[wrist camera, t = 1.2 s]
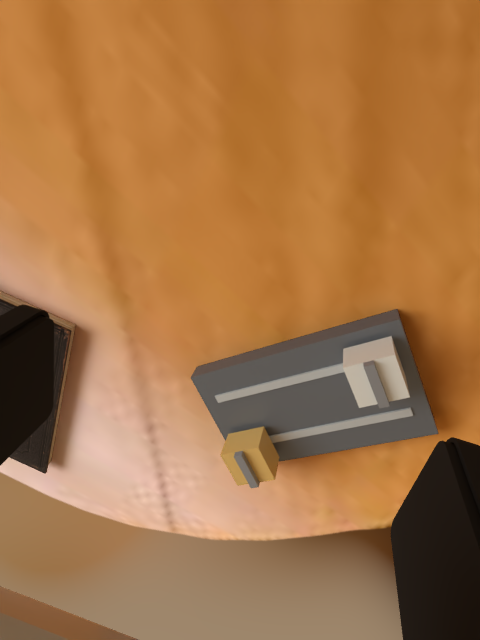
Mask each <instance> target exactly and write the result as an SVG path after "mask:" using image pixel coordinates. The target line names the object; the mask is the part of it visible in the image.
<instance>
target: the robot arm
mask: <svg viewBox="0 0 480 640" xmlns="http://www.w3.org/2000/svg"><path fill="white" fill-rule="evenodd" d="M53 404H54V322H53V320H52V319H50V318H49V314H48V313H47V312H46V311H44V310H41V309H38V308H35V307H31V306H28V305H23V304H22V305H19V306H17V307H15V308H14V309H12V310H10V311H8V312H6V313H5V314H3V315H1V316H0V465H1V464H2V463H3V462H4V461H5V460H6V459H7V458H8V457H9V456H10V455H11V454H12V453H13V452H14V451H15V450H16V449H17V448H18V447H19V446H20V445H21V444H22V443H23V442H25V441H26V440H27V439H28V438H29V437H30V436H31V435H32V434H33V433H34V432H35V431H36V430H37V429H38V428H39V427H40V426H41V425H42V424H43V423H44V422H45V421H46V420H47V418H48V417H49V416H50V414H51V412H52V409H53ZM391 542H392V550H393V558H394V566H395V575H396V584H397V592H398V599H399V609H400V617H401V626H402V634H403V640H480V446H479V445H476V444H473V443H470V442H466V441H463V440H460V439H457V438H450V439H448V440H447V441H446V442H444V441H440V442H438V444H437V445H436V447H435V448H434V450H433V452H432V454H431V455H430V457H429V459H428V461H427V462H426V464H425V466H424V467H423V469H422V471H421V473H420V474H419V476H418V478H417V480H416V481H415V483H414V485H413V487H412V488H411V490H410V492H409V493H408V495H407V497H406V499H405V500H404V502H403V504H402V506H401V507H400V509H399V511H398V513H397V514H396V516H395V518H394V520H393V523H392V527H391ZM0 640H138V639H135V638H133V637H130V636H127V635H125V634H122V633H119V632H117V631H115V630H112V629H109V628H107V627H104V626H102V625H99V624H97V623H94V622H91V621H89V620H86V619H84V618H81V617H79V616H76V615H73V614H71V613H68V612H66V611H63V610H61V609H58V608H55V607H53V606H50V605H48V604H45V603H43V602H40V601H37V600H35V599H32V598H30V597H27V596H24V595H22V594H19V593H17V592H14V591H11V590H9V589H6V588H3V587H1V586H0Z"/></svg>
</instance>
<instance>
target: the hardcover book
mask: <svg viewBox="0 0 480 640" xmlns="http://www.w3.org/2000/svg"><path fill="white" fill-rule="evenodd" d="M22 304H23V305H28V306H31V307H35V306H32V305H30V304H28V303H26V302H23V301H21V300H19V299H17V298H15V297H12V296H10V295H8V294H6V293H3V292H1V291H0V316H1V315H3V314H5V313H6V312H8V311H10V310H12V309H14V308H15V307H17V306H19V305H22ZM35 308H37V307H35ZM38 309H39V308H38ZM47 313H48V312H47ZM48 314H49V318H50V319H52V320H53V322H54V404H53V409H52V412H51V414H50V416H49V417H48V418H47V420H46V421H45V422H44V423H43V424H42V425H41V426H40V427H39V428H38V429H37V430H36V431H35V432H34V433H33V434H32V435H31V436H30V437H29V438H28V439H27V440H26V441H25V442H23V443H22V444H21V445H20V446H19V447H18V448H17V449H16V450H15V451H14V452H13V453H12V454H11V455H10V456H9V457H10V458H12V459H14V460H17V461H19V462H21V463H23V464H25V465H27V466H30V467H32V468H34V469H36V470H38V471H40V472H43V473H45V474H46V472H47V468H48V465H49V463H50V462H51V458H52V453H53V447H54V442H55V436H56V431H57V425H58V420H59V414H60V409H61V403H62V398H63V392H64V387H65V381H66V376H67V370H68V365H69V359H70V354H71V348H72V343H73V337H74V332H75V326H76V325H75V324H73V323H70V322H68V321H66V320H64V319H61V318H59V317H57V316H55V315H53V314H50V313H48Z"/></svg>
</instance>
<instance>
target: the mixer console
mask: <svg viewBox="0 0 480 640" xmlns="http://www.w3.org/2000/svg"><path fill="white" fill-rule="evenodd" d="M389 336H392V339H393V342H394V345H395V348H396V350H397V353H398V356H399V359H400V362H401V365H402V368H403V371H404V373H405V376H406V381H407V385H408V390H409V395H410V397H409V398H405V399H400V400H395V401H390V402H389V404H390V406H389V407H384V408H379V406H378V404H376V405H371V406H366V407H362V408H359V406H358V404H357V401H356V399H355V396H354V394H353V392H352V389H351V387H350V384H349V382H348V379H347V377H346V374H345V372H344V369H343V349H344V348H348V347H352V346H356V345H359V344H363V343H367V342H371V341H374V340H378V339H382V338H386V337H389ZM191 379H192V381H193V383H194V385H195V386H196V388H197V390H198V392H199V394H200V395H201V397H202V399H203V401H204V403H205V404H206V406H207V408H208V410H209V412H210V413H211V415H212V417H213V419H214V421H215V423H216V424H217V426H218V428H219V430H220V432H221V433H222V435H223V437H224V439H225V441H226V439H227V436H228V434H230V433H235V432H239V431H244V430H249V429H254V428H258V427H263V426H264V428H265V429H266V431H267V433H268V435H269V437H270V439H271V441H272V443H273V445H274V447H275V449H276V451H277V453H278V455H279V461H285V460H290V459H296V458H302V457H308V456H313V455H319V454H325V453H331V452H336V451H342V450H348V449H353V448H359V447H365V446H371V445H376V444H382V443H388V442H394V441H399V440H405V439H411V438H416V437H422V436H428V435H434V434H438V431H437V427H436V424H435V420H434V417H433V414H432V411H431V408H430V405H429V402H428V399H427V396H426V393H425V390H424V387H423V384H422V381H421V378H420V375H419V372H418V369H417V366H416V363H415V360H414V357H413V354H412V351H411V348H410V345H409V342H408V339H407V336H406V333H405V330H404V327H403V324H402V322H401V319H400V316H399V313H398V310H397V309H395V310H392V311H388V312H385V313H381V314H378V315H375V316H371V317H368V318H364V319H361V320H357V321H354V322H350V323H347V324H343V325H340V326H336V327H333V328H330V329H326V330H323V331H319V332H316V333H312V334H309V335H305V336H302V337H298V338H295V339H291V340H288V341H285V342H281V343H278V344H274V345H271V346H267V347H264V348H260V349H257V350H253V351H250V352H246V353H243V354H239V355H236V356H233V357H229V358H226V359H222V360H219V361H215V362H212V363H208V364H205V365H201V366H198V367H197V368H196V369H195V371H194V373H193V374H192V376H191Z"/></svg>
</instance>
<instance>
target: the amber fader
mask: <svg viewBox="0 0 480 640" xmlns="http://www.w3.org/2000/svg"><path fill="white" fill-rule="evenodd" d="M221 457H222V459H223V461H224V462H225V464H226V466H227V468H228V469H229V471H230V473H231V475H232V476H233V478H234V480H235V482H236V483H237V485H245V484H249V485H250V487H251V488H255V487H259V483H260V482H264V481H270V480H275V477H276V472H277V467H278V462H279V455H278V453H277V451H276V449H275V447H274V445H273V443H272V441H271V439H270V437H269V435H268V433H267V431H266V429H265V428H264V426H263V427H258V428H254V429H249V430H244V431H239V432H235V433H230V434H228V436H227V439H226V441H225V444H224V447H223V449H222V452H221Z"/></svg>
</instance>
